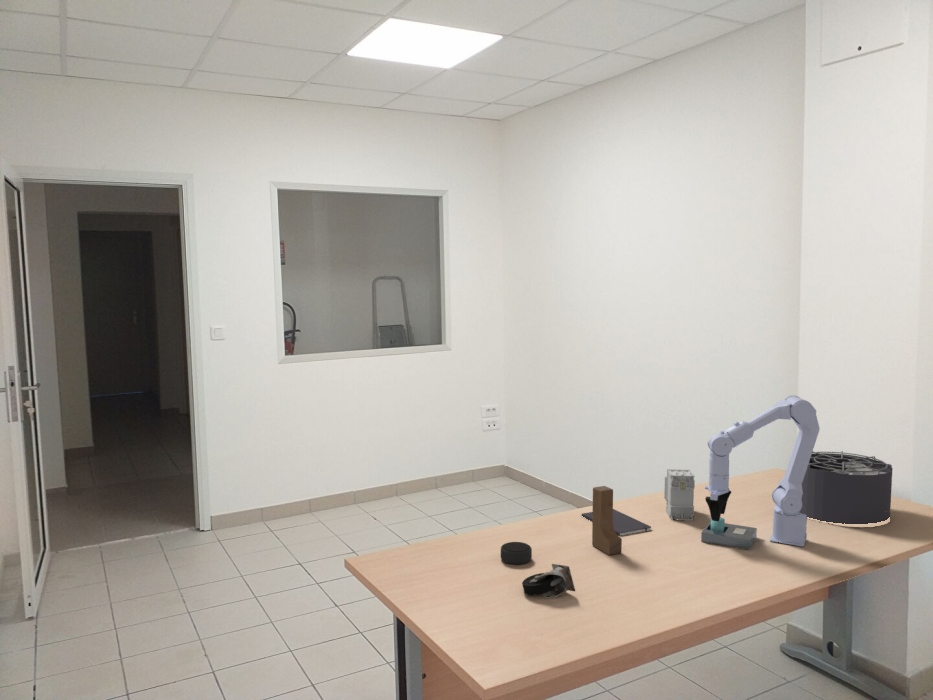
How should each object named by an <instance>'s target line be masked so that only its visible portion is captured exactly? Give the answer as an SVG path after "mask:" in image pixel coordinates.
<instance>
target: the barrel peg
mask: <svg viewBox="0 0 933 700" xmlns="http://www.w3.org/2000/svg"><path fill="white" fill-rule="evenodd" d="M725 520H726V519H725V518H724V517H721V516H720V520H719V521H712V519H711V518H710V521H711V530H713V531H719V532H724V524H725V523H726V521H725Z"/></svg>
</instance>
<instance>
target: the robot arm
mask: <svg viewBox="0 0 933 700" xmlns="http://www.w3.org/2000/svg"><path fill="white" fill-rule="evenodd" d="M777 420H793V422H794V423H795V425H796V426H797V428H798V432H797V436H796V439H795V442H794V444H793V448H792V451H791V453H790V458H789V460H788V463H787V467H786V470H785V473H784V476H783V478H782V479H780V480H779V482H778V485H777V486H776V487H775V488H774V490H773V491H772V493H771V500H772V502H773V503H774V504H775V505H774V507H773V514H772V515H773V517H772V518H773V519H772V534H771V535H770V538H769V541H770V542H773V543H778V542H779V544H784V545H791V546H797V547H804V546H805V543H806V540H807V536H808V533H807V523H808V519H807V515H806V514H802V513H799V511H800V510H801V508H802V495H803V491H802V482H803V479H804V476H805V473H806V470H807V467H808V464H809V461H810V458H811V454H813V453H812V451H814V447H815V444H816V442H817V439H818V436H819V433H820V429H821V428H820V424H819V420H818V416H817V409H816V408H815V406H814V405H812V403H811V402H810V401H808V400H806V399H803V398H801V397H800V396H797V395H789V396H787V397H785V398H784V399H780V400H778V401H777V402H776V403H774V404H773V405H771V406H769V408H767V409H765V410H764V411H763V412H761V413H759V414H758V415H756V416H755V417H753V418H752V419H750V420H748V421H744V420H740V421H738V420H737V421H735V422H733V425H732V426H730V427H729V428H726V429H724V430H723V429H722V430H720V432H719V433H715V434H713V435H712V436H710V438H709V439H708V442H707V447H708V448H709V465H708V467H709V469H708V471H709V472H708V474H709V476H708V485H705V486H704V489H705V490H708V492H709V495H710V496H709V495H708V496H707V495H706V496H705V502H706V504H707V506H708V509H709V513H710V520H711V519H712V521H719V520H720V517H721V515H725V512H726V508H727V504H728V500H729V498H730V496H731V494H732V490H730V488H729V487H730V484H729V482H730V481H729V479H730V454H731V452H732V451H733V449H735V448H736V447H738V446H740V445H741V444H743V443H744V442H746V441H748V440H750V439H751V438H752V437H753V436H754V432H756V431H758V430H759V429H761V428H762V427H765V426H767V425H769V424H771V423H774V422H776V421H777Z"/></svg>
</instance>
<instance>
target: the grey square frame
mask: <svg viewBox="0 0 933 700" xmlns="http://www.w3.org/2000/svg"><path fill="white" fill-rule="evenodd" d="M757 529H758V528H757V527H753V526H745V525H739V524H733V523H732V524H731V523H727V522H725V524H724V532H719V531H713V530H711V520H709V522H708V523H707V524H706V525H705V527H704V528H703V530H702V531H701V535H700V536H701V537H700V538H701V541H700V542H701V543H705V542H706V543H707V544H713V545H718V546H724V547H731V548H735V547H737V549H741V548H744V549H743V550H747V549H750V548H751V549H752V547H753V545H754V543H755V541H756V539H757V536H758V535H757V532H758V530H757ZM706 543H705V544H706ZM751 549H750V550H751Z"/></svg>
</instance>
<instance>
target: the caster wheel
mask: <svg viewBox="0 0 933 700" xmlns="http://www.w3.org/2000/svg"><path fill="white" fill-rule="evenodd" d="M551 568H552V569H551V570H550V571H546V572H541V573H536V574H532V575H530V576H528V577H526V578H524V580H522V583H521V586H522V588H523V592H524V594H525V595H527V596H538V595H541V596H543V597H544V598H548V599H554V598H557V597H558V596H561V595H562V594H564V593H565V592H567V591H570V592H576V587H575V584H574V580H573V576H572V572H571V569H570V566H568V565H563V564H556V563H552V564H551Z"/></svg>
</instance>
